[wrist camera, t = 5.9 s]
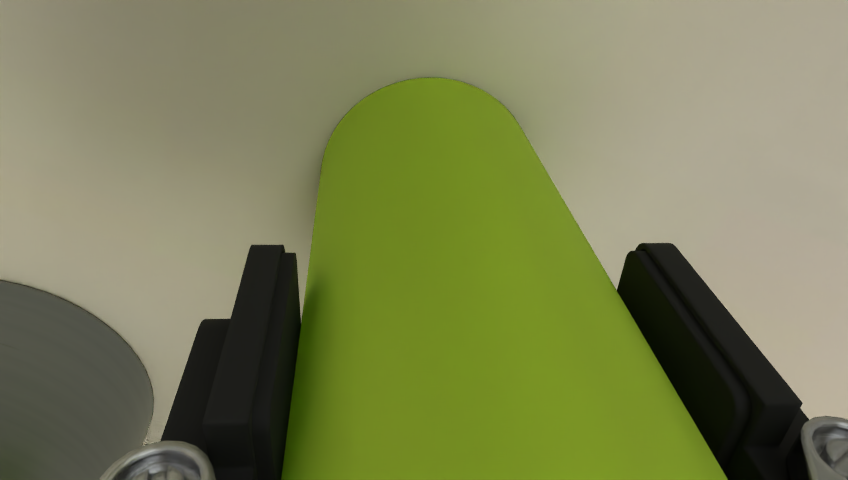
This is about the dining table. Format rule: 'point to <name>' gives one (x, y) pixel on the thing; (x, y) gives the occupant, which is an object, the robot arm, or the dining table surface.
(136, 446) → the grey and black cylinder
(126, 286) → the dining table surface
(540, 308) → the soap dispenser
